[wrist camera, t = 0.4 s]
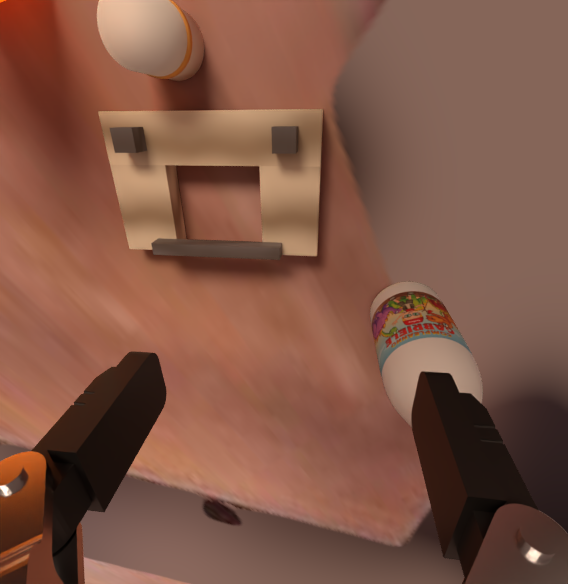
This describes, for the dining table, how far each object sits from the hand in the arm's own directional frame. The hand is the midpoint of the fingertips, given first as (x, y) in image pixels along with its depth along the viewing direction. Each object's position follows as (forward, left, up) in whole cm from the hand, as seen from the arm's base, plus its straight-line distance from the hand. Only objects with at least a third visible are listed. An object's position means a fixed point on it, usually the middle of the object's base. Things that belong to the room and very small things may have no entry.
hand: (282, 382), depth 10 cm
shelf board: (-1, -10, -27) cm, 28 cm away
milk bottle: (+12, +10, -27) cm, 31 cm away
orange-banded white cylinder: (-13, -13, -27) cm, 32 cm away
